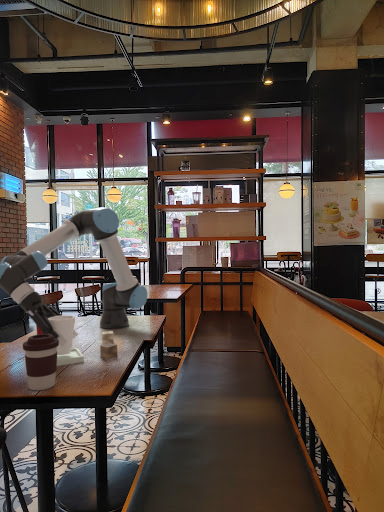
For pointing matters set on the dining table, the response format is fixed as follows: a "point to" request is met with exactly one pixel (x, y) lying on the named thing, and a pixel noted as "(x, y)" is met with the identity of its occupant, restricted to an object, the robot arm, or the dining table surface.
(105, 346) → the walnut block
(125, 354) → the dining table surface
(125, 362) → the dining table surface
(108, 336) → the beech block
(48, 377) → the coffee cup
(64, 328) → the foam cup
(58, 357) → the tray
